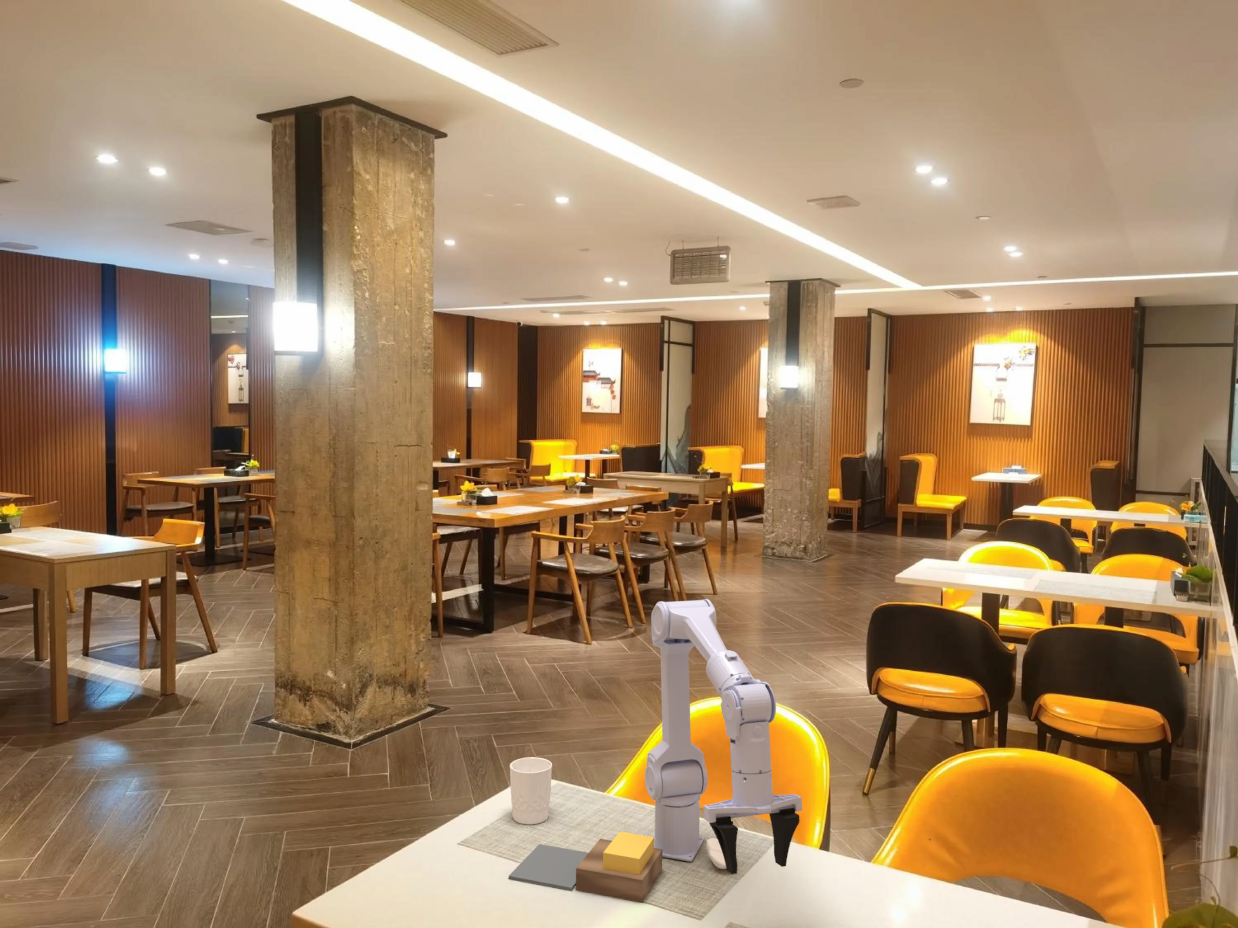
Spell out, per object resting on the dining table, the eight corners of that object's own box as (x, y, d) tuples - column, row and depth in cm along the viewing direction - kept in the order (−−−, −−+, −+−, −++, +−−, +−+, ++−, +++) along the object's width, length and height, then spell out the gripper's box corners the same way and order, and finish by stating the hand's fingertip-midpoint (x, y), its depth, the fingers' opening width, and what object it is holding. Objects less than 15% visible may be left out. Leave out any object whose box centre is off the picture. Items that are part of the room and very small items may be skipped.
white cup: (506, 810, 171) (506, 759, 170) (546, 806, 173) (546, 755, 173) (513, 828, 163) (514, 774, 163) (555, 823, 165) (556, 769, 165)
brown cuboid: (600, 858, 152) (600, 838, 152) (662, 869, 148) (662, 848, 148) (575, 889, 141) (576, 867, 141) (642, 902, 138) (642, 880, 138)
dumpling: (704, 855, 153) (704, 833, 153) (734, 856, 153) (735, 833, 153) (708, 876, 146) (709, 852, 146) (740, 876, 146) (740, 852, 146)
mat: (539, 846, 156) (539, 843, 156) (598, 856, 152) (598, 854, 152) (508, 878, 145) (508, 875, 145) (571, 890, 141) (571, 887, 141)
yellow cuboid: (619, 846, 149) (619, 831, 149) (654, 851, 147) (654, 836, 147) (603, 867, 141) (603, 852, 141) (639, 874, 139) (639, 858, 139)
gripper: (715, 781, 123) (720, 884, 121) (810, 769, 127) (816, 869, 125) (696, 770, 129) (700, 867, 128) (786, 759, 134) (792, 854, 132)
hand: (756, 867), depth 127 cm, fingers open, 7 cm apart
